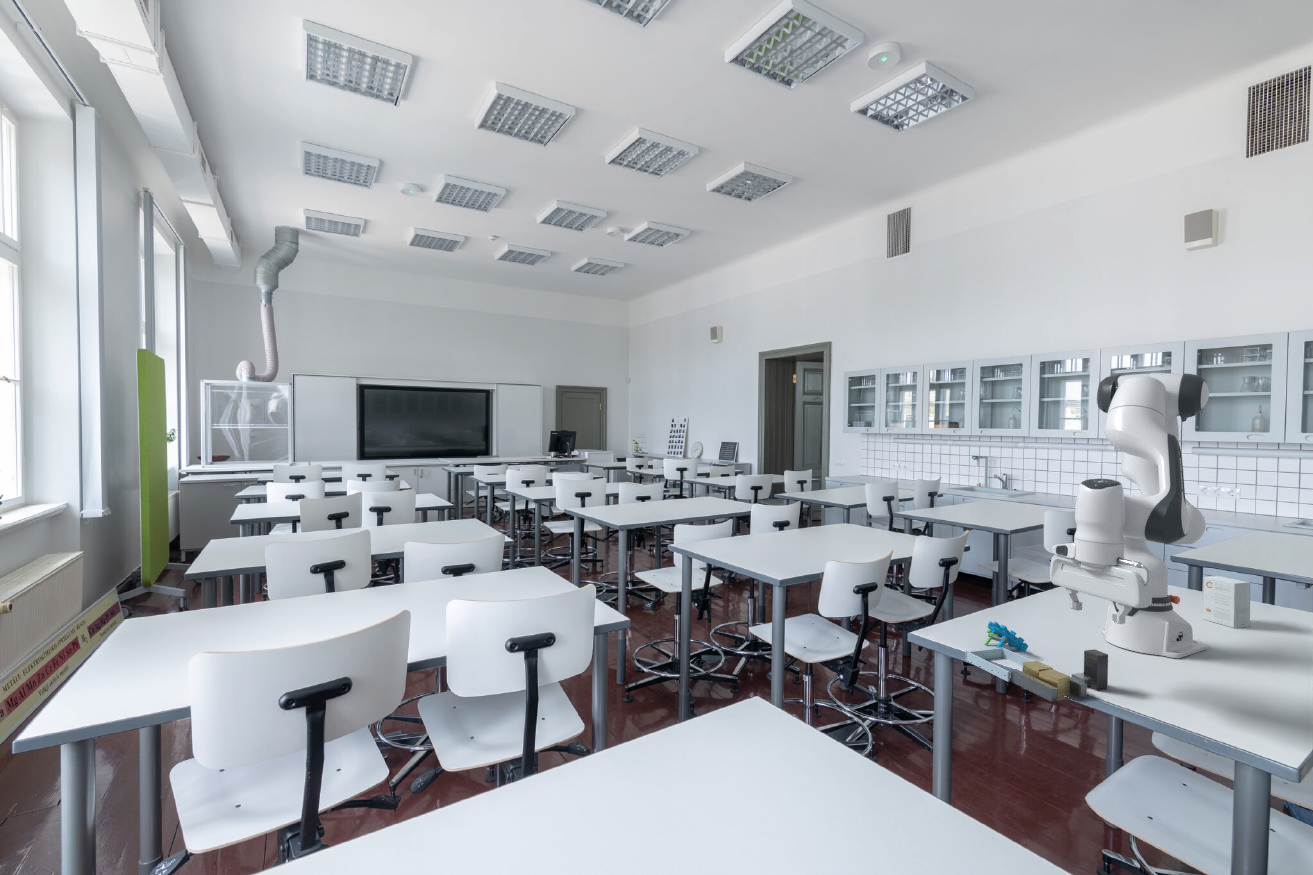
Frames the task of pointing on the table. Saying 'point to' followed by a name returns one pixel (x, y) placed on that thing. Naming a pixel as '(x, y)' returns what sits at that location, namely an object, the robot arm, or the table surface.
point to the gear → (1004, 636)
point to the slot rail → (1047, 686)
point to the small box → (1226, 601)
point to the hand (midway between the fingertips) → (1096, 616)
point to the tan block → (1034, 668)
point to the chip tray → (980, 655)
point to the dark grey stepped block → (1094, 670)
